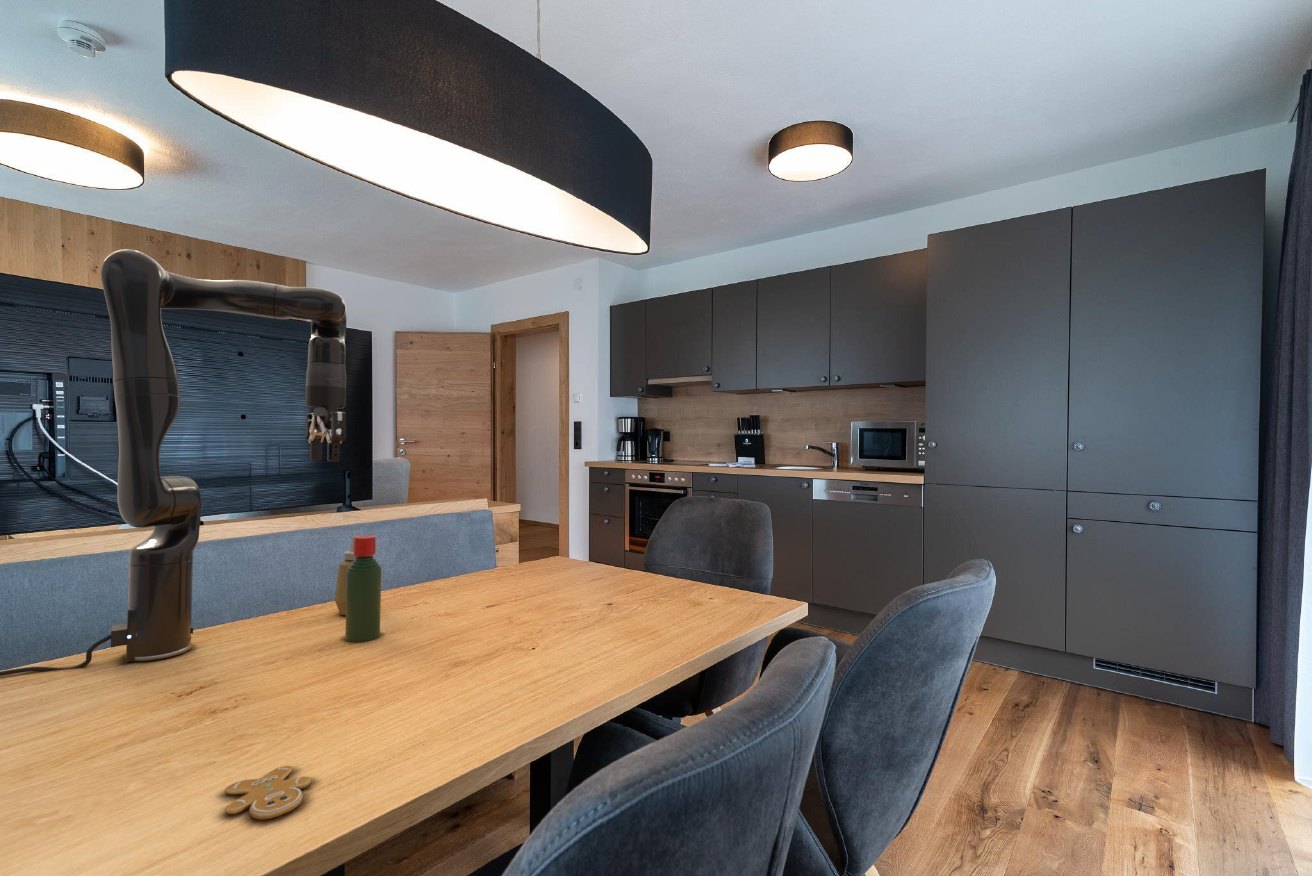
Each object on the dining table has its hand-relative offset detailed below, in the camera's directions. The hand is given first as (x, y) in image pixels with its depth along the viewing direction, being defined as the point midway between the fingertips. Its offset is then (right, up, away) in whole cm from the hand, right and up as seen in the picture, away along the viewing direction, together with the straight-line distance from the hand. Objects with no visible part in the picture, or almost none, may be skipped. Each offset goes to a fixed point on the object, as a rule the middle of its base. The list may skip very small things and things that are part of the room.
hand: (324, 461), depth 124 cm
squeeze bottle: (0, -37, +13) cm, 39 cm away
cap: (+11, -19, -4) cm, 22 cm away
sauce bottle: (+10, -36, -4) cm, 38 cm away
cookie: (+28, -36, -59) cm, 74 cm away
